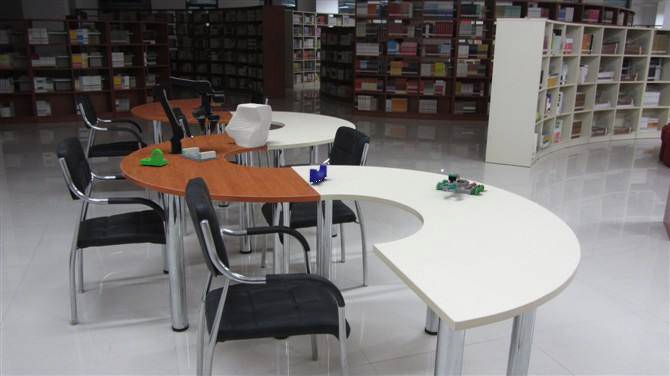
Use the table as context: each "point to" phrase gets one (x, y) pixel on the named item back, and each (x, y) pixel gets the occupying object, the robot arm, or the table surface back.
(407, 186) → the table surface
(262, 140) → the white faceted sculpture
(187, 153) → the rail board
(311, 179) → the cable clip
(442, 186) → the robot kit
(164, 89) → the robot arm
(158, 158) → the mechanical part
